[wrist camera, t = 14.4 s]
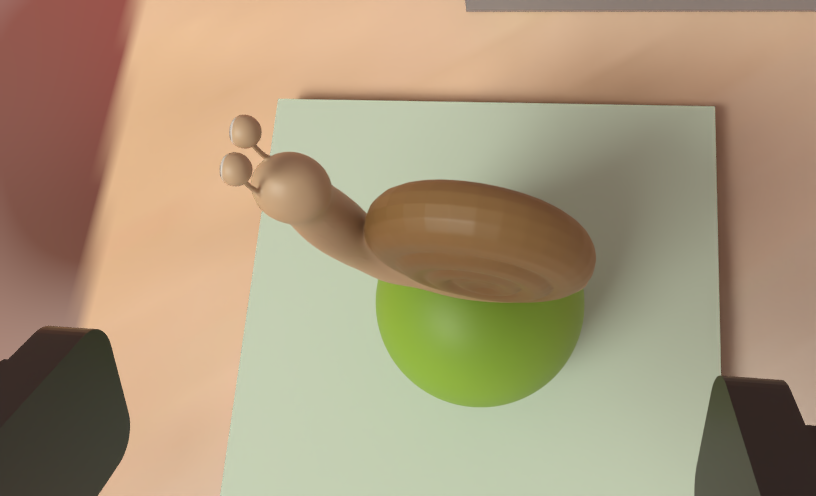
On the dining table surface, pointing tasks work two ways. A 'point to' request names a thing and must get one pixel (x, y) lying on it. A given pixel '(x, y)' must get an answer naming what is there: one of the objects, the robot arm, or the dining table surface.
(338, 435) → the green mat
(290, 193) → the snail figurine
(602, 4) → the gray square frame
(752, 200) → the dining table surface
